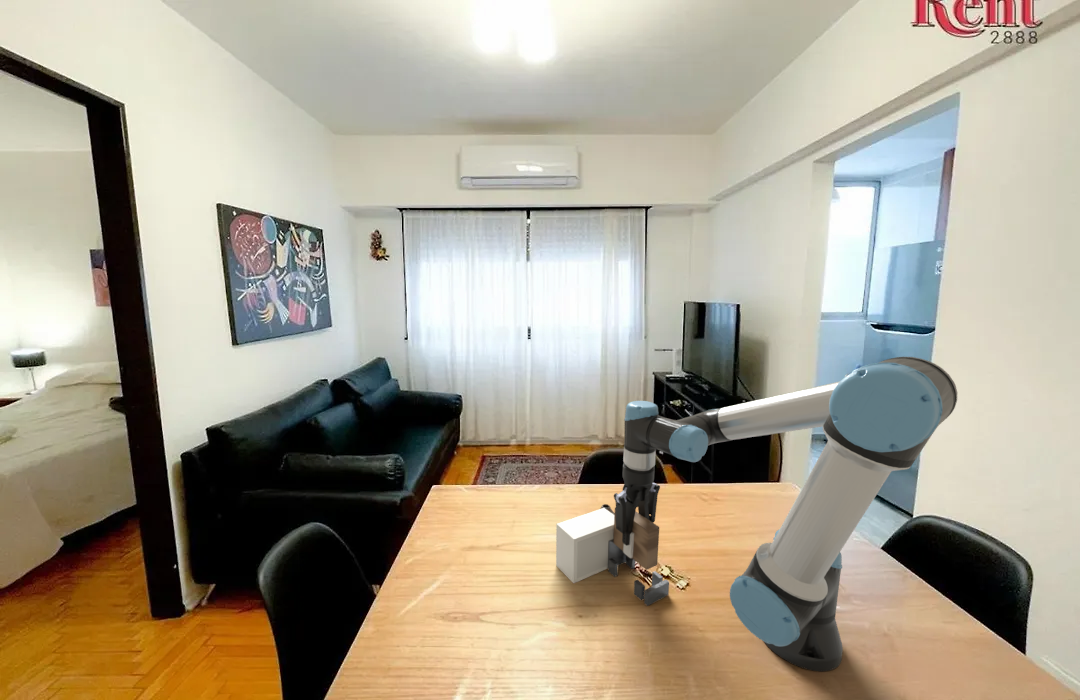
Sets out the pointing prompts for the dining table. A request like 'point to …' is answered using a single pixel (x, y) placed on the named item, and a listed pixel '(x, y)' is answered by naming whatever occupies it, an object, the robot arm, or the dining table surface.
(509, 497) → the dining table surface
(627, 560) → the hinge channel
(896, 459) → the robot arm
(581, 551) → the cabinet
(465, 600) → the dining table surface
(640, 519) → the door
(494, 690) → the dining table surface
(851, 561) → the dining table surface
